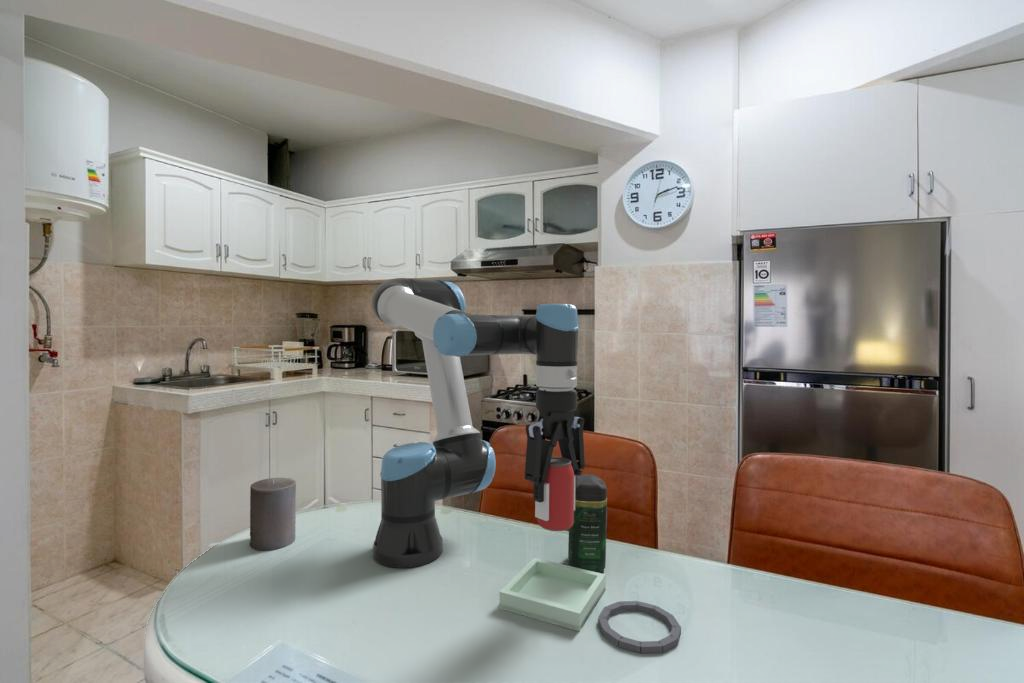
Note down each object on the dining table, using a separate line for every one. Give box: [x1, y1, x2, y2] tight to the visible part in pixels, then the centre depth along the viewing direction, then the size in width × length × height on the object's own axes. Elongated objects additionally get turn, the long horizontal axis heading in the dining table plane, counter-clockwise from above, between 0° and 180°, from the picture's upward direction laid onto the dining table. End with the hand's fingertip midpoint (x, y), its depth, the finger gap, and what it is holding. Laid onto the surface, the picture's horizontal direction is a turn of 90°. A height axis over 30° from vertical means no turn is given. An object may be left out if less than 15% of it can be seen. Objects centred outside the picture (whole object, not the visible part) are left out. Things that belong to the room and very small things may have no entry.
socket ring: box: [597, 600, 682, 654], centre depth 85 cm, size 13×13×1 cm
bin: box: [499, 557, 607, 632], centre depth 94 cm, size 15×15×3 cm
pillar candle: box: [249, 477, 297, 552], centre depth 118 cm, size 10×10×15 cm
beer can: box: [537, 456, 574, 532], centre depth 93 cm, size 7×7×12 cm
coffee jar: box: [567, 473, 608, 573], centre depth 108 cm, size 10×8×19 cm
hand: (555, 513), depth 94 cm, fingers closed on beer can, 6 cm apart
